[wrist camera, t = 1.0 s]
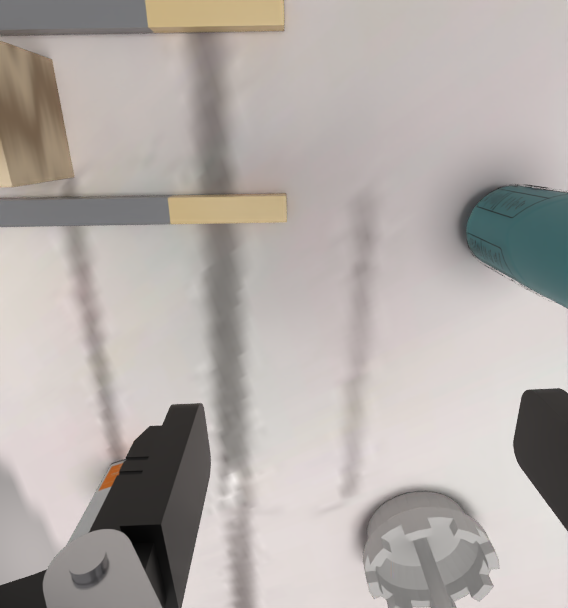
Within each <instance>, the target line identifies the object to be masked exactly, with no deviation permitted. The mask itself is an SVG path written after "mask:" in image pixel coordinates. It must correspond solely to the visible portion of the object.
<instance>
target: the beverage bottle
mask: <svg viewBox="0 0 568 608" xmlns="http://www.w3.org/2000/svg"><path fill="white" fill-rule="evenodd" d="M518 185H520V184H518ZM518 185H517V186H513V185H512V186H511V184H510V186H507V187H503V188H501V187H500V189H499V188H498V190H494V191H492V192H491V193H489V194H488V195H487V196H485V197H484V198H483V199H482V200H481V201H480V202H479V203H478V204H477V205H476V206H475V208H474V209H473V211H472V213H471V214H470V217H469V219H468V223H467V228H466V235H467V243H468V244H469V245H468V247H469V246H470V248H471V250H472V252H473V253H474V256H476V257H477V258H478V259H479V260H481V261H482V262H484V263H486V264H487V265H489V266H491V267H493V268H494V270H495V269H496V270H498V271H500V272H502V273H503V274H505V275H507V276H509V277H511V278H512V279H514V280H516V281H518V283H520V285H521V286H522V287H523V285H524V287H525V286H526V287H528V288H530V290H531V289H532V290H534V291H535V292H537V293H539V295H540V294H541V295H543V296H544V297H547V298H549V299H551V300H553V301H555V303H558V304H560V305H562V306H564V307H566V308H567V309H568V192H567V193H566V192H565V191H563V192H560V191H553V190H554V189H553V190H546V189H544V188H547V187H542V188H541V189H537V188H535V187H540V186H534V188H532V187H533V186H532V185H528V186H532V187H524V186H518ZM525 185H526V184H525ZM555 190H556V189H555ZM559 190H560V189H559ZM567 191H568V190H567ZM470 248H469V249H470ZM472 252H471V253H472ZM472 255H473V254H472ZM485 266H486V265H485ZM488 268H489V267H488ZM490 269H491V268H490ZM492 270H493V269H492ZM495 272H496V271H495ZM497 273H498V272H497ZM499 274H500V273H499ZM502 276H503V275H502ZM512 279H511V280H512ZM509 280H510V279H509ZM512 281H513V280H512ZM514 282H515V281H514ZM522 284H523V285H522ZM518 285H519V284H518ZM526 289H527V288H526ZM527 290H528V289H527ZM543 299H544V298H543ZM548 301H549V300H548ZM551 302H552V301H551Z"/></svg>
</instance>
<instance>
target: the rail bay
mask: <svg viewBox="0 0 568 608" xmlns="http://www.w3.org/2000/svg"><path fill="white" fill-rule="evenodd" d="M241 31H284V0H0V36H5V35H64V34H123V33H182V32H241ZM272 222H287V205H286V194H228V195H168V196H107V197H47V198H0V227H30V226H90V225H151V224H211V223H272Z"/></svg>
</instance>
